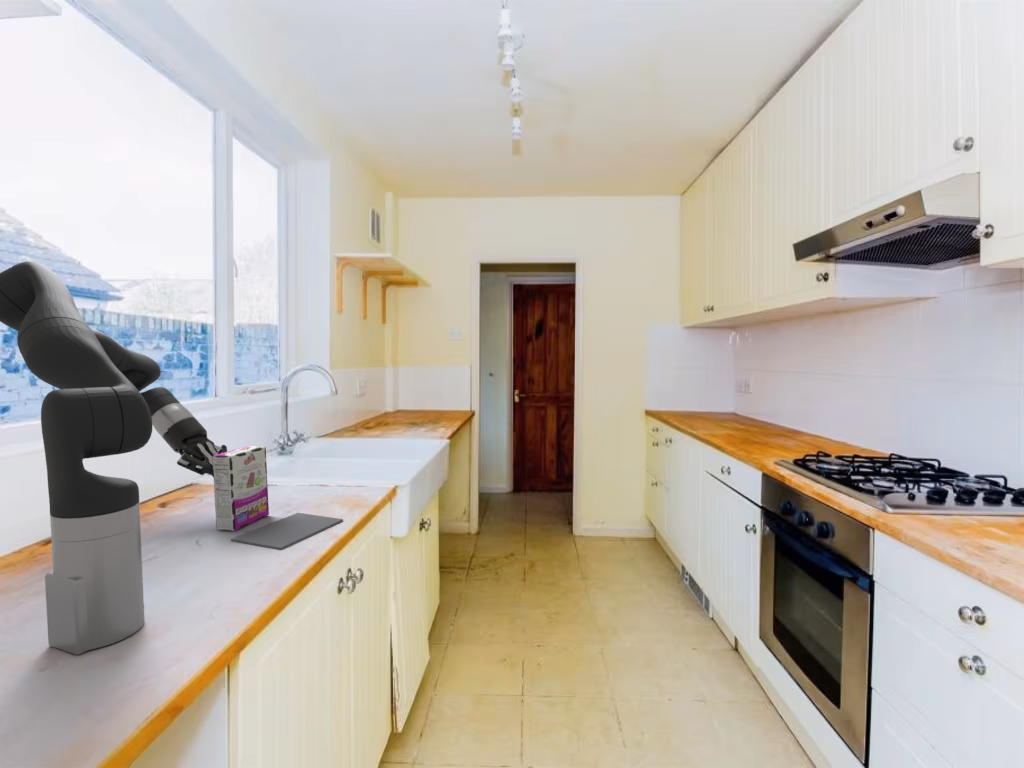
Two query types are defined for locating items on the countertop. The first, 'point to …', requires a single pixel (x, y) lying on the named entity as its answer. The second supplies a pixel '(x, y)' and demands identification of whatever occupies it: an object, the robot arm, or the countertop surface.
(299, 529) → the mat
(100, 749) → the countertop surface
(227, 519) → the candy bar box
